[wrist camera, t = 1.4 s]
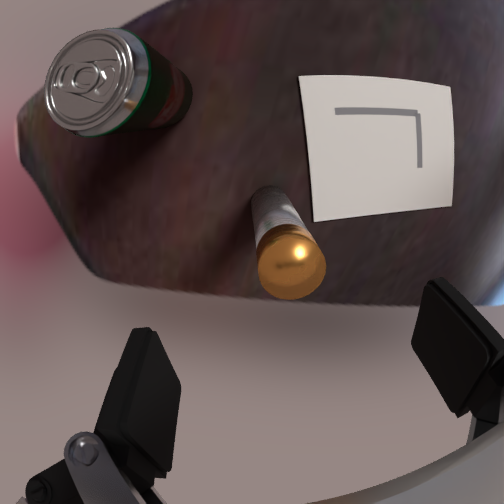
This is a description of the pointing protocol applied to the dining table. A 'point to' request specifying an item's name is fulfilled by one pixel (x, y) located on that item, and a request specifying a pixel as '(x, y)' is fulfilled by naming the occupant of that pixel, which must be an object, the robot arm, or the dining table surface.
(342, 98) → the paper
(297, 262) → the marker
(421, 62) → the dining table surface
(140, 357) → the robot arm
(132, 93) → the soda can
